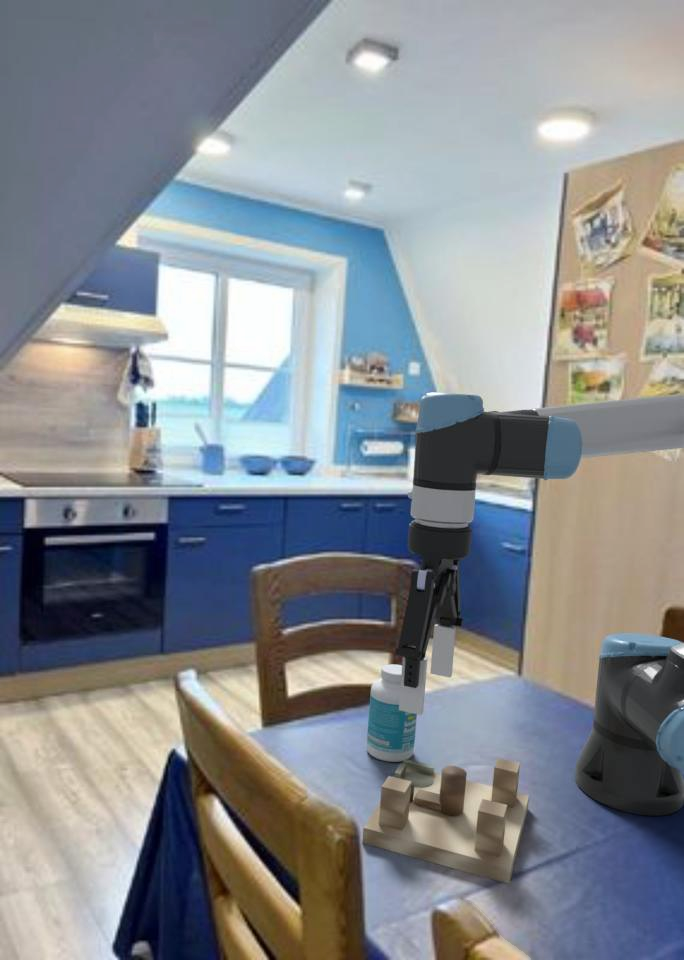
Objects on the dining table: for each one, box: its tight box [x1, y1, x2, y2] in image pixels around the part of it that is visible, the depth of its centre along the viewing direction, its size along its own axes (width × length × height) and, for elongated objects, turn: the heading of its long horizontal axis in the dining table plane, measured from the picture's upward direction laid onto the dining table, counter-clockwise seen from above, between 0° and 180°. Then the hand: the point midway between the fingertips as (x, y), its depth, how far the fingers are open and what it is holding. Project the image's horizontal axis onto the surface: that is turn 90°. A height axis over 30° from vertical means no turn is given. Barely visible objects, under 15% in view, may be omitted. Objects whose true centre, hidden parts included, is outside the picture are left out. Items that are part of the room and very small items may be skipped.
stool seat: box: [361, 757, 530, 885], centre depth 99 cm, size 18×18×7 cm
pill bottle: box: [366, 663, 418, 763], centre depth 118 cm, size 8×7×14 cm
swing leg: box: [414, 765, 467, 815], centre depth 100 cm, size 6×3×5 cm, turn 70°
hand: (426, 692), depth 94 cm, fingers open, 13 cm apart
